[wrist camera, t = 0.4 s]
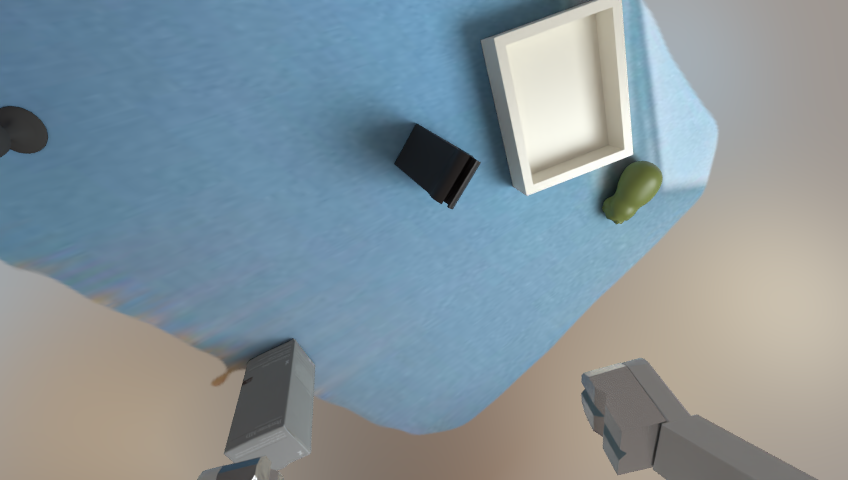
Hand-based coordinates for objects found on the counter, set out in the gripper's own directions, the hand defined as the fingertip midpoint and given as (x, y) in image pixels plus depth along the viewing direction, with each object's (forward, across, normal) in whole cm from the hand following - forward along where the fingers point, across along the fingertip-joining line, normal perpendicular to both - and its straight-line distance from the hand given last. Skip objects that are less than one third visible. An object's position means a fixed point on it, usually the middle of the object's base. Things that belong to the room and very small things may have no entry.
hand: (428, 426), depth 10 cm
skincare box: (+39, +25, +35) cm, 58 cm away
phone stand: (+45, -5, +11) cm, 47 cm away
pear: (+47, -33, +24) cm, 62 cm away
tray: (+47, -23, +8) cm, 53 cm away
